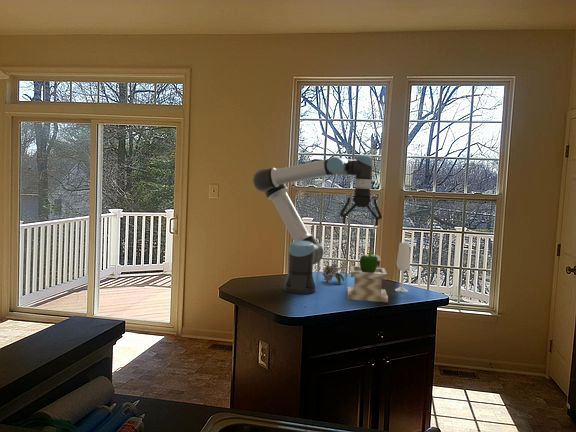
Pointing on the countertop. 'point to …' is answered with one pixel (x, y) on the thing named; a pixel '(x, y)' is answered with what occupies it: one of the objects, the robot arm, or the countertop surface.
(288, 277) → the robot arm
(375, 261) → the bell pepper
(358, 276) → the display stand
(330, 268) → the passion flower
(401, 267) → the champagne flute
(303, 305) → the countertop surface
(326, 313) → the countertop surface
